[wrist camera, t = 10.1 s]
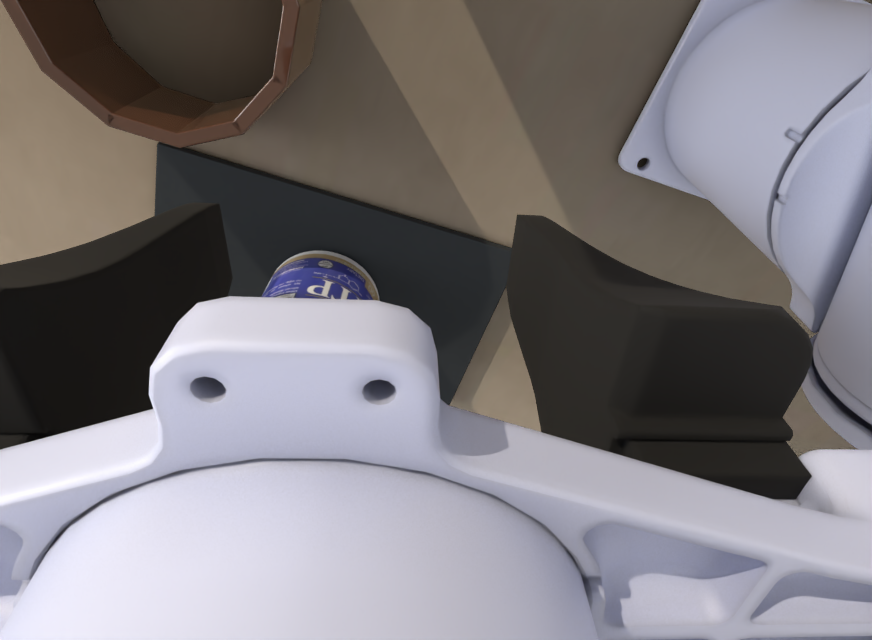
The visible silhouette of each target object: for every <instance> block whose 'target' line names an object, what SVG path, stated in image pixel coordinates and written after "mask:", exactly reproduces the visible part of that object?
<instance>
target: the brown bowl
mask: <svg viewBox="0 0 872 640" xmlns="http://www.w3.org/2000/svg"><path fill="white" fill-rule="evenodd" d="M1 1H2V3H3V5H4V7H5V8H6V10H7V12H8V14H9V15H10V17H11V19H12V21H13V22H14V24H15V26H16V27H17V29H18V31H19V33H20V34H21V36H22V38H23V40H24V41H25V43H26V45H27V47H28V48H29V50H30V52H31V54H32V55H33V57H34V59H35V60H36V62H37V64H38V66H39V67H40V69H41V71H43V72H44V73H45V74H46V75H47V76H49V77H50V78H51V79H52V80H53V81H55V82H56V83H57V84H58V85H59V86H61V87H62V88H63V89H64V90H65V91H67V92H68V93H69V94H70V95H72V96H73V97H74V98H75V99H76V100H78V101H79V102H80V103H81V104H82V105H84V106H85V107H86V108H87V109H88V110H90V111H91V112H92V113H93V114H94V115H96V116H97V117H98V118H99V119H100V120H102V121H103V122H104V123H105V124H106V125H108V126H109V127H113V128H116V129H119V130H123V131H126V132H129V133H132V134H136V135H139V136H142V137H146V138H149V139H152V140H155V141H159V142H162V143H165V144H168V145H172V146H175V147H178V148H183V147H188V146H192V145H197V144H201V143H206V142H211V141H215V140H220V139H225V138H229V137H234V136H238V135H243V134H244V133H245V132H246V131H247V130H248V129H249V128H250V127H251V126H252V125H253V124H254V123H255V122H256V121H257V120H258V119H259V118H260V117H261V116H262V115H263V114H264V113H265V112H266V111H267V110H268V109H269V108H270V107H271V106H272V105H273V104H274V103H275V102H276V101H277V100H278V98H279V97H280V96H281V95H282V94H283V93H284V92H285V91H286V90H287V89H288V87H289V86H290V85H291V84H292V83H293V82H294V81H295V80H296V79H297V78H298V77H299V75H300V74H301V73H302V72H303V71H304V70H305V69H306V68H307V67H308V66H309V65H310V64H311V60H312V55H313V49H314V44H315V38H316V33H317V27H318V22H319V16H320V11H321V5H322V0H281V2H282V5H283V9H282V16H281V22H280V29H279V36H278V43H277V50H276V56H275V63H274V70H273V76H272V78H271V79H270V80H269V81H268V82H267V83H266V84H265V85H264V87H263V88H262V89H261V90H260V91H259V92H258V93H257V95H252V96H248V97H243V98H239V99H234V100H230V101H226V102H221V103H217V104H215V103H212V102H209V101H206V100H203V99H199V98H196V97H193V96H190V95H187V94H184V93H181V92H178V91H175V90H172V89H169V88H166V87H162V86H161V85H160V84H159V83H158V82H157V81H156V80H155V79H153V78H152V77H151V76H150V75H149V74H148V73H147V72H146V71H145V70H143V69H142V68H141V67H140V66H139V65H138V64H137V63H136V62H135V61H134V60H132V59H131V58H130V57H129V56H128V55H127V54H126V53H125V52H124V51H123V50H121V49H120V48H119V47H118V46H117V45H116V44H115V43H114V42H113V40H112V38H111V36H110V34H109V32H108V30H107V28H106V26H105V24H104V22H103V20H102V17H101V15H100V13H99V11H98V9H97V7H96V5H95V3H94V1H93V0H1Z"/></svg>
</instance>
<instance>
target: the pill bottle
mask: <svg viewBox="0 0 872 640" xmlns="http://www.w3.org/2000/svg"><path fill="white" fill-rule="evenodd" d="M262 297H275V298H312V299H349V300H377V301H380V300H379V294H378V290H377V288H376V285H375V283H374V281H373V280H372V278H371V277H370V275H369V274H368V273H367V271H366V270H365V269H364V268H363V267H361V266H360V265H359V264H358V263H356V262H355V261H353V260H352V259H350V258H348V257H346V256H343V255H341V254H338V253H334V252H329V251H308V252H303V253H300V254H297V255H294V256H292V257H291V258H289V259H287V260H286V261H285V262H283V263H282V264H281V265H280V266H279V267H278V268H277V270H276V271H275V273H274V274H273V276H272V277H271V279H270V281H269V283H268V285H267V287H266V289H265V291H264V292H263V294H262Z"/></svg>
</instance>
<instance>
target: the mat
mask: <svg viewBox="0 0 872 640" xmlns="http://www.w3.org/2000/svg"><path fill="white" fill-rule="evenodd" d="M193 202H195V203H220V209H221V215H222V220H223V226H224V231H225V237H226V243H227V248H228V254H229V259H230V265H231V271H232V276H233V279H232V282H231V286H230V290H229V293H228V296H227V297H229V296H237V297H262V294H263V292H264V291H265V289H266V287H267V285H268V283H269V281H270V279H271V277H272V276H273V274H274V273H275V271H276V270H277V268H278V267H279V266H280V265H281V264H282V263H283V262H285V261H286V260H287V259H289V258H291V257H292V256H294V255H297V254H300V253H303V252H308V251H329V252H334V253H338V254H341V255H343V256H346V257H348V258H350V259H352V260H353V261H355V262H356V263H358V264H359V265H360V266H361V267H363V268H364V269H365V270H366V271H367V273H368V274H369V275H370V277H371V278H372V280H373V281H374V283H375V285H376V288H377V290H378V294H379V300H380V301H381V302H385V303H389V304H393V305H397V306H401V307H405V308H408V309H410V310H411V311H412V312H413V313H414V314H415V315H416V316H417V317H419V318H420V319H421V320H422V321H423V322H424V323H425V324H427V325H428V326H429V327H430V328H431V332H432V335H433V339H434V343H435V347H436V351H437V359H438V374H439V389H440V399H441V400H442V401H444V402H445V403H446V404H447V405H450V403H451V400H452V398H453V396H454V394H455V392H456V390H457V388H458V386H459V384H460V382H461V380H462V377H463V375H464V373H465V371H466V369H467V367H468V365H469V363H470V361H471V359H472V356H473V354H474V352H475V350H476V348H477V346H478V344H479V342H480V340H481V338H482V335H483V333H484V331H485V329H486V327H487V325H488V323H489V321H490V319H491V317H492V314H493V312H494V310H495V308H496V306H497V304H498V302H499V300H500V298H501V296H502V293H503V291H504V289H505V287H506V285H507V278H508V272H509V265H510V259H511V252H512V248H509V247H506V246H503V245H499V244H496V243H493V242H489V241H486V240H483V239H480V238H476V237H473V236H470V235H467V234H463V233H460V232H457V231H454V230H450V229H447V228H444V227H441V226H437V225H434V224H431V223H427V222H424V221H421V220H418V219H414V218H411V217H408V216H405V215H401V214H398V213H395V212H392V211H388V210H385V209H382V208H379V207H375V206H372V205H369V204H365V203H362V202H359V201H356V200H352V199H349V198H346V197H343V196H339V195H336V194H333V193H330V192H326V191H323V190H320V189H317V188H313V187H310V186H307V185H303V184H300V183H297V182H294V181H290V180H287V179H284V178H281V177H277V176H274V175H271V174H268V173H264V172H261V171H258V170H255V169H251V168H248V167H245V166H241V165H238V164H235V163H232V162H228V161H225V160H222V159H219V158H215V157H212V156H209V155H206V154H202V153H199V152H196V151H193V150H189V149H186V148H178V147H175V146H172V145H168V144H165V143H162V142H159V143H158V144H157V166H156V194H155V216H156V215H159V214H161V213H163V212H166V211H168V210H171V209H173V208H176V207H179V206H181V205H185V204H188V203H193Z"/></svg>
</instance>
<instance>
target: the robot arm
mask: <svg viewBox="0 0 872 640" xmlns="http://www.w3.org/2000/svg"><path fill="white" fill-rule="evenodd" d="M642 158H647V163H646V164H645V165H644V166H642V167H637V163H638V162H639V160H640V159H642ZM618 163H619V165H620V166H621V168H622V169H623V170H625V171H626V172H629V173H632V174H635V175H638V176H641V177H644V178H647V179H649V180H652V181H655V182H658V183H661V184H664V185H667V186H670V187H672V188H675V189H678V190H681V191H684V192H687V193H690V194H693V195H695V196H698V197H701V198H704V199H707V200H709V201H710V202H711V203H712V204H713V205H714V206H715V207H717V208H718V209H719V210H720V211H721V212H722V213H723V214H724V215H725V216H726V217H727V218H728V219H729V220H730V221H731V222H732V223H733V224H734V225H735V226H736V227H737V228H738V229H739V230H740V231H741V232H742V233H743V234H744V235H745V236H746V237H747V238H748V239H749V240H750V241H751V242H752V243H753V244H754V245H756V246H757V247H758V248H759V249H760V250H761V251H762V252H763V253H764V254H765V255H766V256H767V257H768V258H769V259H770V260H771V261H772V262H773V263H774V264H775V265H776V266H777V267H778V268H779V269H780V270H781V271H782V272H783V273H784V274H786V276H787V277H788V279H789V281H790V283H791V287H792V299H791V303H790V309H791V310H792V311H793V312H794V313H795V314H796V315H797V316H798V317H799V318H800V319H801V321H802V322H803V323H804V324H805V325H806V326H807V327H808V328H809V329H810V330H811V331H812V332H813V333H817V331H818V332H819V333H817V334H816V335H814V336H813V337H812V338H809V335H808V334H807V333H806V332H805V331H804V330H803V328H802V327H801V326H800V325H799V324H798V323H797V322H796V321H795V320H794V319H793V318H792V317H791V316H790V315H789V314H788V313H787V312H786V311H785V310H784V309H783V308H782V307H780V306H774V305H767V304H761V303H755V302H748V301H742V300H736V299H730V298H726V297H721V296H717V295H713V294H708V293H704V292H700V291H696V290H693V289H689V288H685V287H682V286H679V285H676V284H673V283H670V282H667V281H664V280H661V279H658V278H656V277H653V276H650V275H648V274H645V273H643V272H641V271H638V270H636V269H634V268H632V267H629V266H627V265H625V264H623V263H621V262H619V261H617V260H615V259H613V258H611V257H610V256H608V255H606V254H604V253H602V252H601V251H599V250H597V249H595V248H594V247H592V246H590V245H589V244H587V243H586V242H584V241H582V240H581V239H579V238H578V237H576V236H575V235H573V234H572V233H570V232H569V231H567V230H566V229H564V228H563V227H561V226H560V225H558V224H556V223H555V222H553V221H552V220H550V219H548V218H546V217H544V216H536V215H517V220H516V226H515V233H514V239H513V246H512V252H511V259H510V265H509V272H508V278H507V285H506V287H507V295H508V302H509V308H510V314H511V319H512V322H513V325H514V328H515V332H516V335H517V338H518V341H519V344H520V347H521V350H522V354H523V357H524V360H525V363H526V366H527V369H528V372H529V375H530V378H531V382H532V386H533V390H534V393H535V398H536V404H537V409H538V415H539V420H540V426H541V432H539V431H535V430H532V429H528V428H525V427H522V426H518V425H515V424H511V423H508V422H504V421H501V420H497V419H494V418H490V417H487V416H484V415H480V414H477V413H473V412H470V411H466V410H463V409H459V408H456V407H452V406H449V405H447V404H446V403H445V402H444V401H442V400H441V399H440V389H439V374H438V359H437V351H436V347H435V343H434V339H433V335H432V332H431V328H430V327H429V326H428V325H427V324H425V323H424V322H423V321H422V320H421V319H420V318H419V317H417V316H416V315H415V314H414V313H413V312H412V311H411V310H410V309H408V308H405V307H401V306H397V305H393V304H389V303H385V302H381V301H377V300H349V299H312V298H275V297H237V296H229V297H227V296H228V293H229V290H230V286H231V282H232V279H233V276H232V271H231V265H230V259H229V254H228V248H227V243H226V237H225V231H224V226H223V220H222V215H221V209H220V203H195V202H193V203H188V204H185V205H181V206H179V207H176V208H173V209H171V210H168V211H166V212H163V213H161V214H159V215H156V216H154V217H152V218H149V219H147V220H145V221H142V222H140V223H138V224H135V225H133V226H130V227H128V228H125V229H123V230H120V231H118V232H115V233H112V234H110V235H107V236H105V237H102V238H99V239H97V240H94V241H91V242H88V243H86V244H82V245H79V246H76V247H73V248H70V249H66V250H63V251H59V252H56V253H52V254H48V255H44V256H40V257H36V258H31V259H26V260H22V261H17V262H12V263H8V264H3V265H0V640H872V4H870V3H868V2H866V1H864V0H701V1H700V3H699V5H698V7H697V9H696V11H695V12H694V14H693V16H692V18H691V20H690V22H689V24H688V26H687V28H686V29H685V31H684V33H683V35H682V37H681V39H680V41H679V43H678V45H677V46H676V48H675V50H674V52H673V54H672V56H671V58H670V60H669V62H668V63H667V65H666V67H665V69H664V71H663V73H662V75H661V77H660V79H659V80H658V82H657V84H656V86H655V88H654V90H653V92H652V94H651V95H650V97H649V99H648V101H647V103H646V105H645V107H644V109H643V111H642V112H641V114H640V116H639V118H638V120H637V122H636V124H635V126H634V128H633V129H632V131H631V133H630V135H629V137H628V139H627V141H626V143H625V145H624V146H623V148H622V150H621V152H620V154H619V157H618ZM800 386H801V387H802V389H803V391H804V393H805V396H806V398H807V400H808V401H809V402H810V404H811V405H812V407H813V408H814V410H815V411H816V412H817V414H818V415H819V416H820V417H821V418H822V419H823V420H824V421H825V422H826V423H827V424H828V425H829V426H830V427H831V428H832V429H833V430H834V431H835V432H837V433H838V434H839V435H840V436H841V437H843V438H844V439H845V440H846V441H847V442H849V443H850V444H851V445H853V446H854V447H856V448H857V449H858V450H857V449H818V450H811V451H808V452H806V453H804V454H802V455H800V456H799V457H797V455H796V454H795V453H794V451H793V450H792V449H791V447H790V446H789V445H788V444H787V442H786V441H790V440H791V438H792V436H793V431H792V429H791V428H790V427H789V425H788V424H787V423H786V421H785V420H784V419H783V418H782V417H783V415H784V414H785V412H786V410H787V408H788V407H789V405H790V403H791V402H792V400H793V398H794V397H795V395H796V393H797V391H798V390H799V388H800Z"/></svg>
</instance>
